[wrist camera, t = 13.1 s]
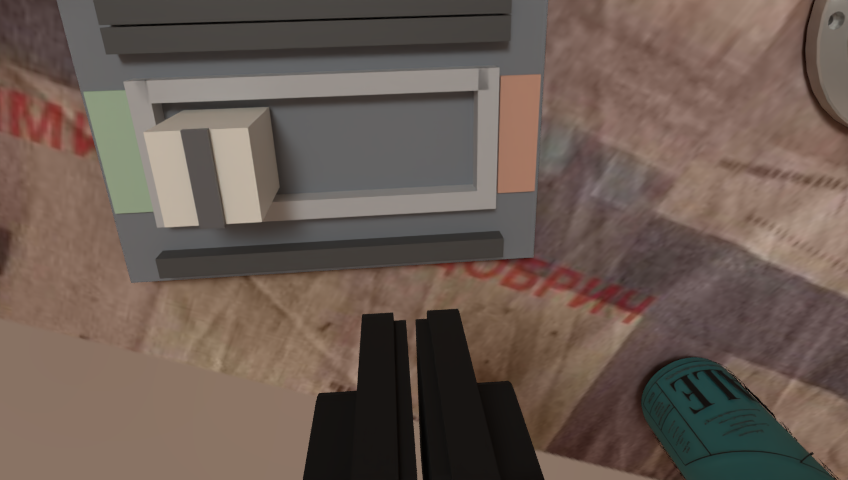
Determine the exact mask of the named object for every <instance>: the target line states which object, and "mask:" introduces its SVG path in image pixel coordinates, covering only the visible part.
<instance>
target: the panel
mask: <svg viewBox="0 0 848 480" xmlns="http://www.w3.org/2000/svg"><path fill="white" fill-rule="evenodd" d="M57 3H58V7H59V11H60V15H61V19H62V22H63V26H64V30H65V34H66V37H67V41H68V45H69V49H70V53H71V56H72V60H73V64H74V68H75V72H76V75H77V79H78V83H79V87H80V91H81V94H82V98H83V102H84V106H85V110H86V113H87V117H88V121H89V125H90V128H91V132H92V136H93V140H94V144H95V147H96V151H97V155H98V159H99V163H100V166H101V170H102V174H103V178H104V182H105V185H106V189H107V193H108V197H109V201H110V204H111V208H112V212H113V216H114V219H115V223H116V227H117V231H118V235H119V238H120V242H121V246H122V250H123V254H124V257H125V261H126V265H127V269H128V273H129V276H130V280H131V283H135V282H150V281H166V280H182V279H198V278H214V277H230V276H246V275H261V274H277V273H293V272H309V271H325V270H341V269H357V268H372V267H388V266H404V265H420V264H436V263H452V262H468V261H483V260H499V259H515V258H531V257H533V254H534V237H535V219H536V202H537V184H538V166H539V149H540V131H541V114H542V96H543V79H544V61H545V44H546V26H547V9H548V0H57ZM252 107H269V110H270V118H271V125H272V133H273V140H274V148H275V155H276V163H277V170H278V177H279V185H280V187H279V189H278V191H277V193H276V195H275V197H274V199H273V201H272V203H271V205H270V207H269V209H268V211H267V213H266V215H265V217H264V219H263V221H262V222H254V223H236V224H226V226H225V228H211V229H200V228H199V226H182V227H165V226H164V221H163V217H162V213H161V208H160V204H159V199H158V195H157V191H156V186H155V182H154V177H153V173H152V168H151V164H150V160H149V155H148V151H147V146H146V142H145V138H144V133H143V132H145V131H146V130H148V129H150V128H152V127H154V126H156V125H157V124H159V123H161V122H163V121H165V120H166V119H168V118H170V117H172V116H174V115H176V114H177V113H179V112H181V111H183V110H203V109H228V108H252Z"/></svg>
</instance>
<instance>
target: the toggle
mask: <svg viewBox="0 0 848 480" xmlns="http://www.w3.org/2000/svg"><path fill="white" fill-rule="evenodd" d="M143 133H144V138H145V142H146V146H147V151H148V155H149V160H150V164H151V168H152V173H153V177H154V182H155V186H156V191H157V195H158V199H159V204H160V208H161V213H162V217H163V221H164V226H165V227H182V226H199V228H200V229H211V228H225V226H226V224H236V223H254V222H262V221H263V219H264V217H265V215H266V213H267V211H268V209H269V207H270V205H271V203H272V201H273V199H274V197H275V195H276V193H277V191H278V189H279V187H280V185H279V177H278V170H277V163H276V155H275V148H274V140H273V133H272V125H271V118H270V110H269V107H252V108H228V109H203V110H183V111H181V112H179V113H177V114H176V115H174V116H172V117H170V118H168V119H166V120H165V121H163V122H161V123H159V124H157V125H156V126H154V127H152V128H150V129H148V130H146V131H145V132H143Z"/></svg>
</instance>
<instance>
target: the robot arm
mask: <svg viewBox="0 0 848 480" xmlns="http://www.w3.org/2000/svg"><path fill="white" fill-rule="evenodd" d="M805 53H806V66H807V74H808V77H809V81H810V84H811V87H812V91H813V93H814V94H815V96H816V98H817V100H818V101H819V103H820V105H821V107H822V108H823V109H824V110H825V111H826V112H827V113H828V114H829V115H830V116H831V117H832V118H833V119H834V120H836V121H838V122H839V123H841V124H843V125H844V126H846V127H848V0H815V2H814V6H813V9H812V13H811V17H810V20H809V24H808V29H807V38H806V48H805ZM416 346H417V373H418V400H419V425H420V426H419V427H420V448H421V463H422V474H423V480H544V477H543V474H542V471H541V468H540V465H539V462H538V459H537V456H536V453H535V450H534V447H533V445H532V442H531V439H530V436H529V433H528V430H527V427H526V424H525V421H524V418H523V415H522V412H521V409H520V406H519V403H518V400H517V397H516V394H515V392H514V389H513V386H512V384H511V383H510V382H509V381H501V382H485V383H477V382H476V378H475V374H474V370H473V366H472V362H471V358H470V354H469V350H468V346H467V341H466V337H465V333H464V329H463V325H462V321H461V317H460V313H459V310H458V309H447V310H430V311H427V319H416ZM303 480H417V468H416V454H415V441H414V426H413V412H412V398H411V384H410V370H409V357H408V343H407V329H406V320H399V321H394V316H393V313H378V314H363V315H362V324H361V339H360V353H359V368H358V383H357V391H346V392H330V393H319V394H318V396H317V400H316V405H315V411H314V417H313V423H312V429H311V434H310V440H309V446H308V452H307V458H306V464H305V470H304V476H303Z"/></svg>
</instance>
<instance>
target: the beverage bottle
mask: <svg viewBox="0 0 848 480" xmlns="http://www.w3.org/2000/svg"><path fill="white" fill-rule="evenodd" d="M721 365H722V364H721ZM721 365H719V363H718V364H717V363H716V362H713V361H711V360H708V359H704V358H697V357H695V358H685V359H681V360H678V361H675V362H672V363H670V364H668V365H667V366H665V367H663V368H662V369H661V370H659V371H658V372H657V373H656V374H655V375H654V376H653V377H652V378H651V379H650V381H649V382H648V384H647V385H646V387H645V389H644V391H643V395H642V400H641V405H642V410H643V414H644V417H645V419H646V421H647V423H648V424H649V426H650V427H651V429H652V430H653V432H654V433H655V435H656V436H657V439H659V440H658V441H659V442H661V443H662V445H663V446H664V447H663V446H662V447H663V448H665V449H666V451H667V452H668V453H667V455H668V454H669V455H670V456H669V455H668V456H669V457H671V458H672V461H673V462H675V464H676V466H677V467H678V469H679V470H680V471H681V473H682V474H683V476H684V478H685V479H686V480H837V479H839V478H837V479H836V478H835V477H834V476H833V475H832V474H831V473H830V472H829V471H828V470H830V469H829V468H828V467H827V466H826V465H825V464H824V463H822V464H824V465H825V466H824V468H825V467H827V468H828V470H827V469H826V468H825V469H826V470H827V471H828V472H829V473H830V474H831V475H832V476H833V477H834V478H833V477H832V476H831V475H830V474H829V473H828V472H827V471H826V470H825V469H824V468H823V467H822V466H821V465H820V464H819V463H818V462H817V461H816V460H815V459H814V458H813V457H812V456H811V455H813V454H814V453H813V452H811V453H810V454H809V453H808V452H807V451H806V450H805V449H804V448H803V447H802V446H801V445H800V444H799V443H798V442H797V439H796V438H795V437H794V438H795V439H796V440H795V439H794V438H793V436H791V434H789V433H788V431H787V430H785V429H784V428H783V427H782V426H781V425H782V424H781V425H780V424H779V423H778V422H777V421H776V418H775V416H774V414H773V413H772V412H771V411H770V410H769V409H768V407H767V406H766V405H765V404H764V403H763V402H761V401H760V400H759V399H758V398H757V397H756V396H755V395H754V394H753V393H752V392H751V391H750V390H749V389H748V388H747V387H746V386H745V385H744V386H745V388H746V389H745V388H744V387H743V386H742V385H741V383H740V380H739V381H738V380H737V379H736V378H735V377H736V376H735V375H733V374H731V373H729V372H728V371H729V370H728V369H726V368H727V367H726V368H723V367H722V366H721ZM727 370H728V371H727ZM730 372H731V371H730ZM734 376H735V377H734ZM747 390H748V391H749V392H750V393H751V394H752V395H753V396H754V397H755V398H756V399H757V400H758V401H759V402H758V401H757V400H756V399H755V398H754V397H753V396H752V395H751V394H750V393H749V392H748V391H747ZM760 403H761V404H762V405H763V406H764V407H765V408H766V409H767V410H768V411H769V412H770V413H771V414H772V415H773V416H774V418H775V419H774V418H773V417H772V415H771V414H770V413H769V412H768V411H767V410H766V409H765V408H764V407H763V406H762V405H761V404H760ZM781 422H782V421H781ZM781 422H780V423H781ZM783 425H784V424H783ZM784 427H785V428H786V427H787V426H786V425H784ZM786 429H787V428H786ZM789 432H790V431H789ZM654 433H653V434H654ZM656 441H657V440H656ZM658 444H659V443H658ZM665 449H664V450H665ZM666 451H665V452H666ZM669 457H668V458H669ZM819 460H820V459H819ZM672 461H671V462H672ZM820 461H821V460H820ZM673 462H672V463H673ZM821 462H822V461H821ZM676 466H675V467H676ZM677 467H676V468H677ZM830 471H831V470H830ZM677 472H678V471H677ZM679 473H680V472H679ZM681 473H680V474H681ZM680 474H679V475H680ZM682 474H681V476H682ZM834 475H835V474H834ZM839 480H840V479H839Z"/></svg>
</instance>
